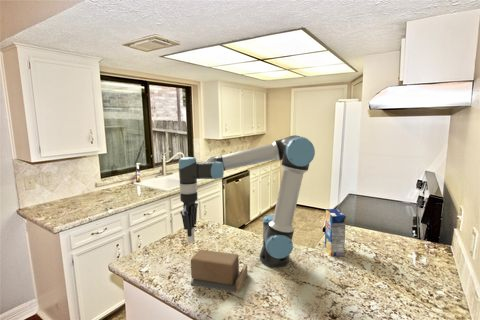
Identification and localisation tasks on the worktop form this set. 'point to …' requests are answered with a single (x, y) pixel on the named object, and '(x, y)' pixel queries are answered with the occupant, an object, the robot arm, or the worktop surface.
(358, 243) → the worktop surface
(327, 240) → the beverage box
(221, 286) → the mat
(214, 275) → the wooden block
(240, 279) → the stop rail
